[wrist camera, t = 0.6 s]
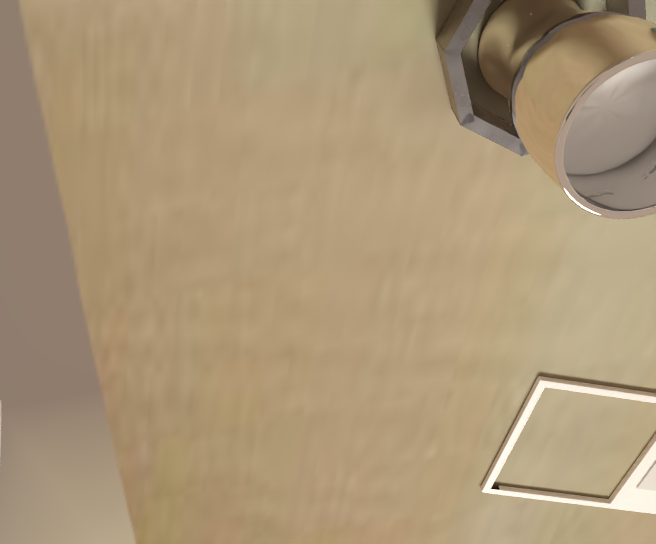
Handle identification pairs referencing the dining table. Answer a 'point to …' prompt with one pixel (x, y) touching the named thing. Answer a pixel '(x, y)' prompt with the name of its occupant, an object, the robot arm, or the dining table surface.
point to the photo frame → (631, 494)
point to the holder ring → (450, 46)
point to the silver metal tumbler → (580, 98)
